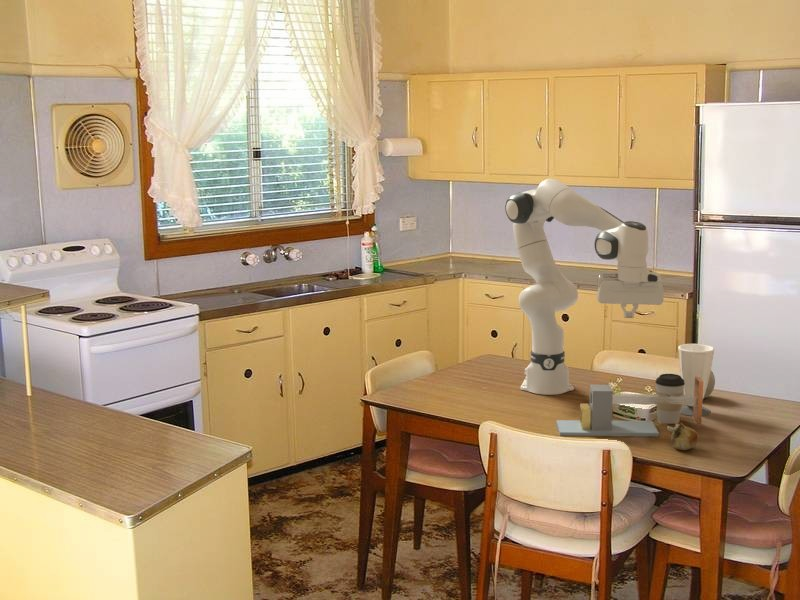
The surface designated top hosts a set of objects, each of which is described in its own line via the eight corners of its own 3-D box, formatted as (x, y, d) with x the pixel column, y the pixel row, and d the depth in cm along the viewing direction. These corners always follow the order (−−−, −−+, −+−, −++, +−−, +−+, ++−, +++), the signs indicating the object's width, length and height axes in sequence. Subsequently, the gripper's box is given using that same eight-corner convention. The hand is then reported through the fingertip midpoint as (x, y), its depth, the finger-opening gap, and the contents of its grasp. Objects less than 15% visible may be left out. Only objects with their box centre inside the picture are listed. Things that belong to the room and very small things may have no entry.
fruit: (682, 401, 333) (683, 359, 331) (682, 392, 344) (684, 351, 341) (714, 404, 330) (716, 361, 328) (714, 394, 341) (716, 353, 338)
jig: (556, 423, 312) (557, 382, 310) (651, 424, 310) (653, 382, 308) (559, 435, 301) (560, 393, 298) (659, 436, 299) (660, 393, 296)
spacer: (579, 423, 309) (580, 403, 308) (587, 423, 309) (588, 403, 307) (581, 429, 303) (582, 409, 302) (590, 429, 303) (590, 409, 302)
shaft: (602, 417, 308) (603, 376, 305) (696, 418, 306) (698, 376, 303) (604, 423, 302) (606, 381, 300) (701, 424, 300) (703, 381, 298)
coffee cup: (648, 420, 314) (650, 375, 311) (663, 414, 320) (665, 369, 317) (673, 426, 308) (675, 380, 305) (688, 420, 314) (690, 374, 311)
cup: (687, 418, 316) (690, 353, 312) (668, 407, 327) (671, 345, 323) (718, 414, 319) (721, 350, 315) (698, 404, 330) (701, 342, 326)
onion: (686, 455, 282) (687, 428, 281) (664, 448, 289) (665, 422, 287) (702, 450, 287) (704, 423, 285) (680, 442, 293) (681, 417, 291)
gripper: (599, 275, 302) (596, 319, 305) (666, 277, 301) (663, 320, 304) (596, 271, 308) (593, 314, 311) (662, 273, 307) (659, 316, 310)
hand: (628, 317), depth 307 cm, fingers closed
